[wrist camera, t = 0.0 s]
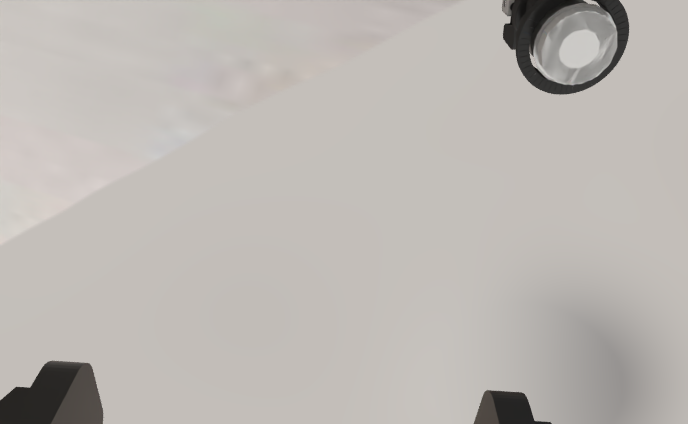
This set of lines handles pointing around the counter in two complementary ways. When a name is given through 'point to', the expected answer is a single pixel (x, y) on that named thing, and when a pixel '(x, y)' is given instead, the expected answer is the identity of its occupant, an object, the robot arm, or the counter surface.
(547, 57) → the push button
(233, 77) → the counter surface
